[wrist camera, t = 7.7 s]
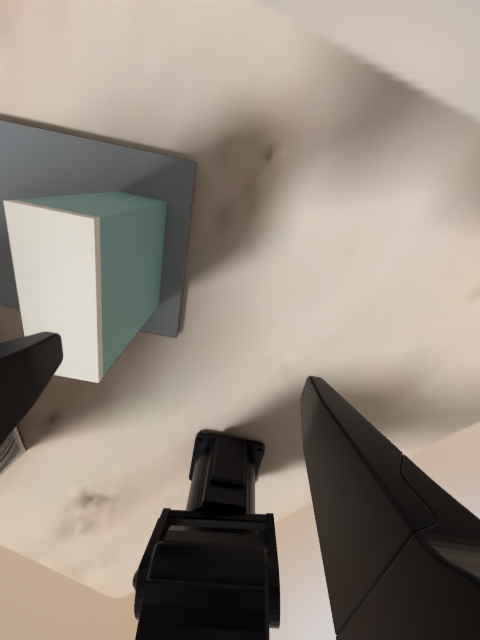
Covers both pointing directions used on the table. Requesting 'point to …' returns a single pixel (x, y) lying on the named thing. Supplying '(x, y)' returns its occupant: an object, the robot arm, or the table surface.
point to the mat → (98, 177)
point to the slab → (87, 272)
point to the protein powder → (10, 450)
